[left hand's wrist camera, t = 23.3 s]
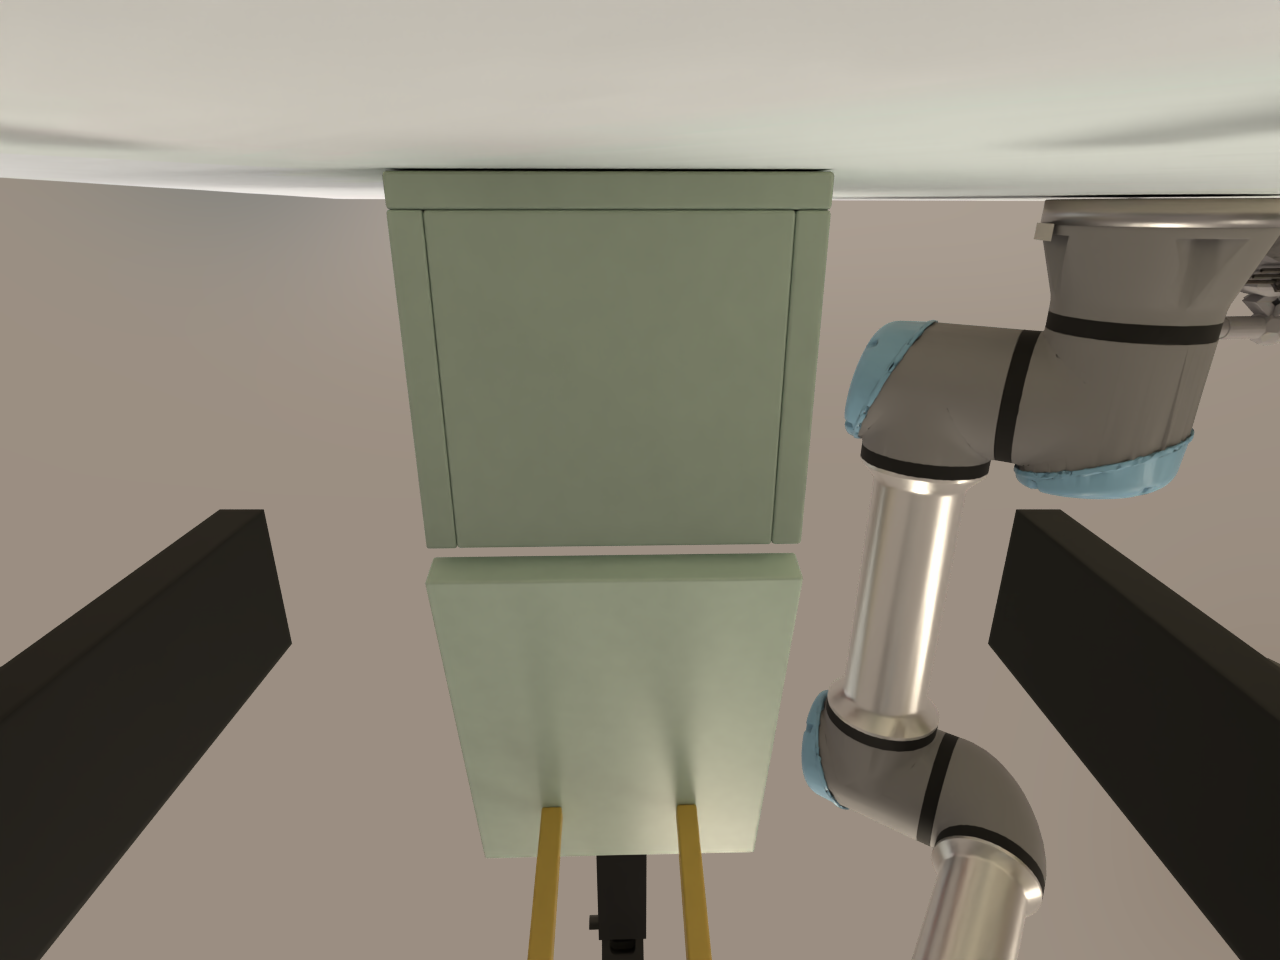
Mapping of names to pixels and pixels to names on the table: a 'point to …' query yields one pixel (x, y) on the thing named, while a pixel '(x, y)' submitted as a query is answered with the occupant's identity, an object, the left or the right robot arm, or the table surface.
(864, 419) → the right robot arm
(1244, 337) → the toy
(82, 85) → the table surface
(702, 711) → the lid
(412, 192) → the chest
